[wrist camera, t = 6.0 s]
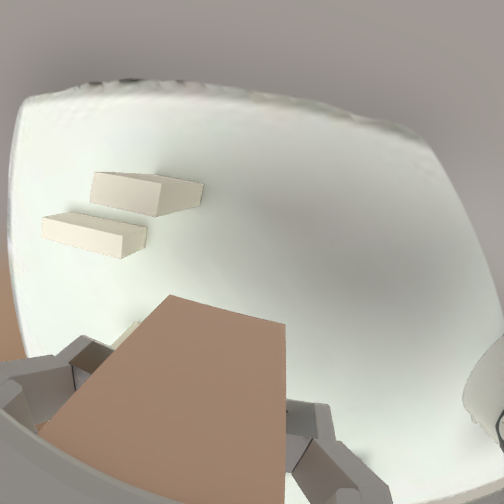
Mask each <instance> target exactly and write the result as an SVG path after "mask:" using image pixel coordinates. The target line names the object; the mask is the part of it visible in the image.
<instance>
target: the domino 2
mask: <svg viewBox="0 0 504 504" xmlns="http://www.w3.org/2000/svg"><path fill="white" fill-rule="evenodd" d="M203 187H204V184H201V183H196V182H191V181H186V180H181V179H176V178H170V177H165V176H159V175H153V174H136V173H115V172H94V177H93V183H92V189H91V196H90V202H91V203H95V204H100V205H104V206H108V207H113V208H117V209H122V210H126V211H130V212H135V213H139V214H144V215H148V216H152V217H159V216H162V215H166V214H170V213H173V212H177V211H181V210H185V209H189V208H193V207H197V206H200V202H201V197H202V192H203Z"/></svg>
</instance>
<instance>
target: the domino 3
mask: <svg viewBox="0 0 504 504" xmlns="http://www.w3.org/2000/svg"><path fill="white" fill-rule="evenodd" d="M37 435H38V436H40V437H41V438H43V439H44V440H46V441H47V442H49V443H50V444H52V445H54V446H55V447H57V448H58V449H60V450H62V451H64V452H65V453H67V454H69V455H70V456H72V457H74V458H76V459H78V460H79V461H81V462H83V463H85V464H87V465H89V466H91V467H93V468H95V469H97V470H99V471H101V472H103V473H105V474H107V475H110V476H112V477H114V478H116V479H119V480H121V481H123V482H126V483H128V484H130V485H133V486H135V487H138V488H141V489H143V490H146V491H149V492H151V493H154V494H157V495H160V496H163V497H166V498H169V499H172V500H176V501H179V502H182V503H186V504H284V498H285V460H286V341H285V324H281V323H277V322H272V321H268V320H264V319H260V318H255V317H251V316H247V315H243V314H239V313H235V312H231V311H228V310H224V309H220V308H216V307H212V306H209V305H205V304H201V303H198V302H194V301H190V300H187V299H183V298H180V297H176V296H173V295H169V296H168V297H167V298H166V299H165V300H164V301H163V302H162V303H161V304H160V305H159V306H158V307H157V308H156V309H155V310H154V311H153V312H152V313H151V314H150V315H149V316H148V317H147V318H146V319H145V320H144V321H143V322H142V323H141V324H140V325H139V326H138V327H137V328H136V329H135V330H134V331H133V332H132V333H131V334H130V335H129V336H128V337H127V338H126V339H125V340H124V341H123V342H122V343H121V344H120V345H119V347H118V348H117V349H116V350H115V351H114V352H113V353H112V354H111V355H110V356H109V357H108V358H107V359H106V360H105V361H104V362H103V363H102V364H101V365H100V366H99V367H98V368H97V370H96V371H95V372H94V373H93V374H92V375H91V376H90V377H89V378H88V379H87V380H86V381H85V382H84V383H83V384H82V385H81V387H80V388H79V389H78V390H77V391H76V392H75V393H74V394H73V395H72V396H71V397H70V398H69V399H68V401H67V402H66V403H65V404H64V405H63V406H62V407H61V408H60V409H59V410H58V411H57V412H56V414H55V415H54V416H53V417H52V418H51V419H50V420H49V421H48V422H47V424H46V425H45V426H44V427H43V428H42V429H41V430H40V431H39V432H38V434H37Z"/></svg>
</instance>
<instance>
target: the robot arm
mask: <svg viewBox="0 0 504 504" xmlns="http://www.w3.org/2000/svg"><path fill="white" fill-rule="evenodd" d="M115 350H116V349H115V348H113V347H110V346H108V345H106V344H104V343H101V342H99V341H97V340H94V339H92V338H90V337H88V336H86V335H81V336H79V337H78V338H77V339H76V340H74V341H73V342H72V343H71V344H69V345H68V346H67V347H66V348H65V349H63V350H62V351H61V352H60V353H59V354H57V355H56V356H53V355H46V356H40V357H33V358H27V359H20V360H13V361H6V362H0V504H186V503H182V502H179V501H176V500H172V499H169V498H166V497H163V496H160V495H157V494H154V493H151V492H149V491H146V490H143V489H141V488H138V487H135V486H133V485H130V484H128V483H126V482H123V481H121V480H119V479H116V478H114V477H112V476H110V475H107V474H105V473H103V472H101V471H99V470H97V469H95V468H93V467H91V466H89V465H87V464H85V463H83V462H81V461H79V460H78V459H76V458H74V457H72V456H70V455H69V454H67V453H65V452H64V451H62V450H60V449H58V448H57V447H55V446H54V445H52V444H50V443H49V442H47V441H46V440H44V439H43V438H41V437H40V436H38V435H37V434H38V432H37V429H36V427H35V425H37V424H39V423H42V422H45V421H48V420H50V419H51V418H52V417H53V416H54V415H55V414H56V412H57V411H58V410H59V409H60V408H61V407H62V406H63V405H64V404H65V403H66V402H67V401H68V399H69V398H70V397H71V396H72V395H73V394H74V393H75V392H76V391H77V390H78V389H79V388H80V387H81V385H82V384H83V383H84V382H85V381H86V380H87V379H88V378H89V377H90V376H91V375H92V374H93V373H94V372H95V371H96V370H97V368H98V367H99V366H100V365H101V364H102V363H103V362H104V361H105V360H106V359H107V358H108V357H109V356H110V355H111V354H112V353H113V352H114V351H115ZM462 402H463V406H464V408H465V409H466V410H467V411H468V412H469V413H470V414H471V418H472V422H473V423H475V424H476V423H479V424H480V426H481V427H482V428H483V429H484V430H485V431H486V432H487V434H488V435H489V436H490V437H491V438H492V439H493V440H494V442H495V443H497V444H500V448H501V449H502V451H503V452H504V335H503V336H502V337H501V338H500V339H498V340H497V341H496V342H495V343H494V344H493V345H492V346H491V347H490V348H489V349H488V350H487V351H486V353H485V354H484V355H483V356H482V357H481V359H480V360H479V361H478V363H477V364H476V366H475V367H474V369H473V370H472V372H471V374H470V376H469V378H468V380H467V382H466V384H465V387H464V391H463V396H462ZM285 472H288V473H292V476H293V478H294V479H295V481H296V482H297V484H298V485H299V487H300V488H301V490H302V492H303V493H304V495H305V496H306V498H307V499H308V501H309V502H310V504H393V501H392V497H391V493H390V490H389V486H388V485H387V484H386V483H385V482H383V481H382V480H381V479H380V478H379V477H378V476H377V475H376V474H375V473H374V472H372V471H371V470H370V469H369V468H368V467H367V466H366V465H365V464H364V463H363V462H362V461H361V460H360V459H359V458H358V457H357V456H355V455H354V454H353V453H352V452H351V451H350V450H349V449H348V448H347V447H346V446H345V445H344V444H343V443H342V442H341V441H336V437H335V432H334V426H333V421H332V416H331V410H330V406H329V405H328V404H321V403H311V402H304V401H298V400H292V399H286V460H285ZM461 504H504V488H502V489H500V490H497V491H495V492H492V493H490V494H487V495H485V496H481V497H479V498H476V499H473V500H470V501H467V502H464V503H461Z"/></svg>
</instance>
